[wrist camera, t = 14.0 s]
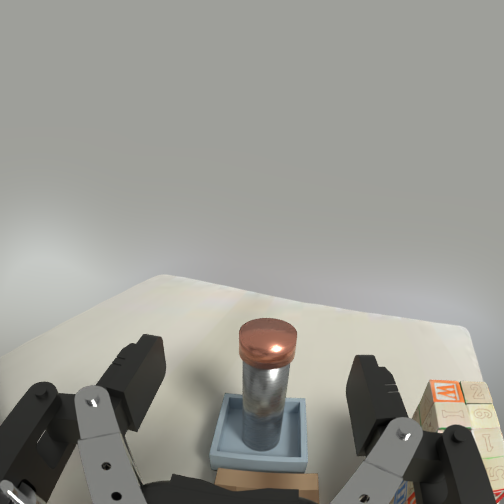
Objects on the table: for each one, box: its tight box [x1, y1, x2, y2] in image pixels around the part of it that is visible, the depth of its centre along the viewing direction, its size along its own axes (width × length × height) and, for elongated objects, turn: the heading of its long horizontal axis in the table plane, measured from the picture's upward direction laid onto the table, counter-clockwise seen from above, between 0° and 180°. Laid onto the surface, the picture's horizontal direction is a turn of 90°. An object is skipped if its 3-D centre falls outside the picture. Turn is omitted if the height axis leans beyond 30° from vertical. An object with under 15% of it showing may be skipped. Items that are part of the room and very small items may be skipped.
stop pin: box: [239, 318, 297, 452], centre depth 26 cm, size 5×5×14 cm
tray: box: [209, 393, 308, 474], centre depth 28 cm, size 9×9×3 cm
